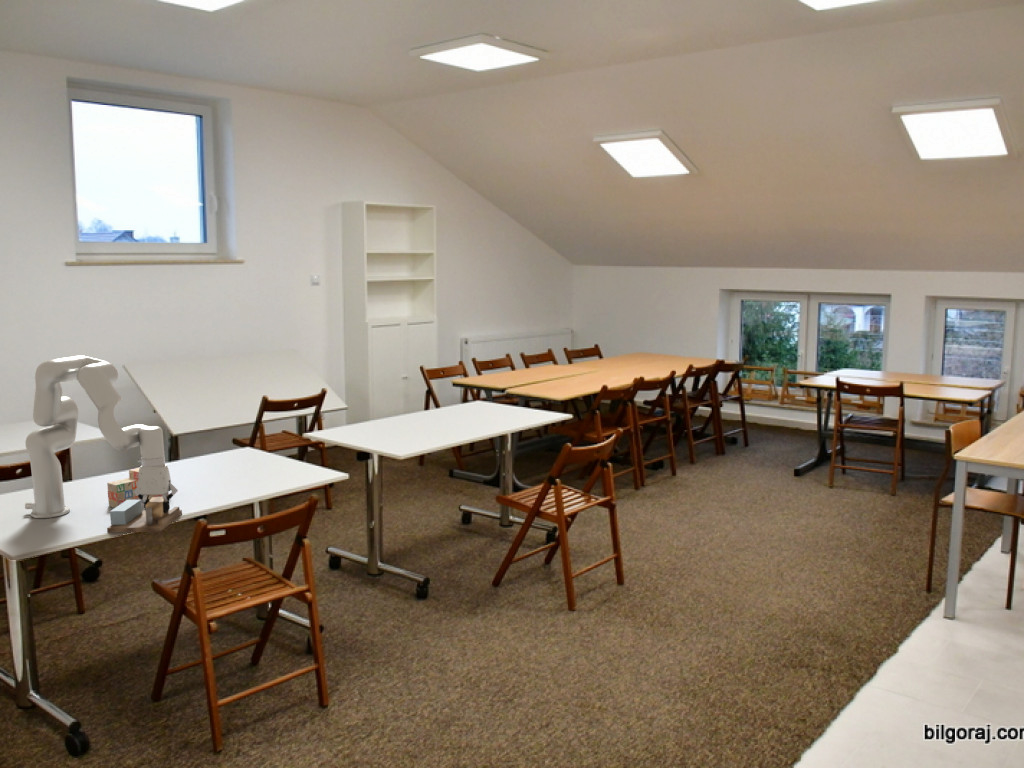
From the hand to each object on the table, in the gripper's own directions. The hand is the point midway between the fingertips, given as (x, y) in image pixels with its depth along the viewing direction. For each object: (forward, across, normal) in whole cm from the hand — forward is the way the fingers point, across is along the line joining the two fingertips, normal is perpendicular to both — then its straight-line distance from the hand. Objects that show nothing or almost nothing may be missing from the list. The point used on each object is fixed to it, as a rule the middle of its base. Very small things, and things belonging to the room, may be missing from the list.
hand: (157, 511), depth 302 cm
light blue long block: (+2, -11, 0) cm, 11 cm away
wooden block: (+1, 0, 0) cm, 1 cm away
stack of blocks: (+4, -18, +28) cm, 34 cm away
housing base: (+4, -4, 0) cm, 6 cm away
